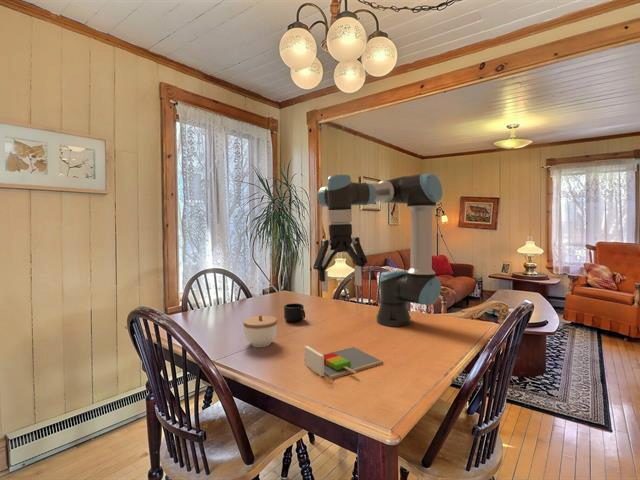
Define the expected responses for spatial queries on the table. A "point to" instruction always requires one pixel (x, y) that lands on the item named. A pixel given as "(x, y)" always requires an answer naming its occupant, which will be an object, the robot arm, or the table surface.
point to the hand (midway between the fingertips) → (342, 288)
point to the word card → (314, 360)
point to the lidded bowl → (260, 330)
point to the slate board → (356, 358)
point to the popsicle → (337, 362)
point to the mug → (294, 312)
